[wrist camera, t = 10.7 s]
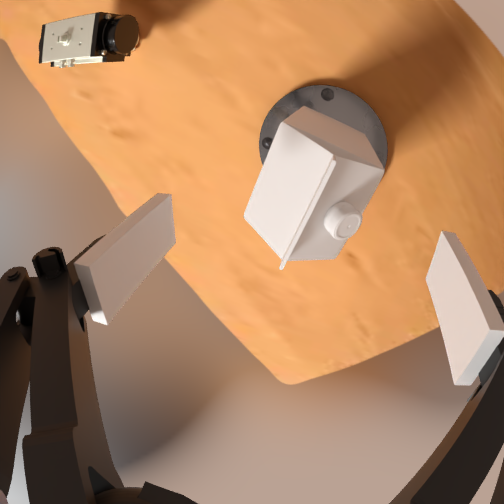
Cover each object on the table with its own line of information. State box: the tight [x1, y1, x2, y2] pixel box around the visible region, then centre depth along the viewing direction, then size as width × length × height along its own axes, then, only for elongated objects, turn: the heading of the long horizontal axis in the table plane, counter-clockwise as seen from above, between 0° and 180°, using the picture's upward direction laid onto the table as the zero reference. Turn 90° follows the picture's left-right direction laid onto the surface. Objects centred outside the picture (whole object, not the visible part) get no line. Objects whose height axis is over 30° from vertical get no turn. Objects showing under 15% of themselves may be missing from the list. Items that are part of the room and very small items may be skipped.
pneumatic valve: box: [39, 12, 139, 68], centre depth 27 cm, size 6×12×12 cm, turn 81°
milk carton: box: [244, 106, 385, 270], centre depth 25 cm, size 7×7×19 cm
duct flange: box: [259, 85, 388, 169], centre depth 33 cm, size 14×14×1 cm
